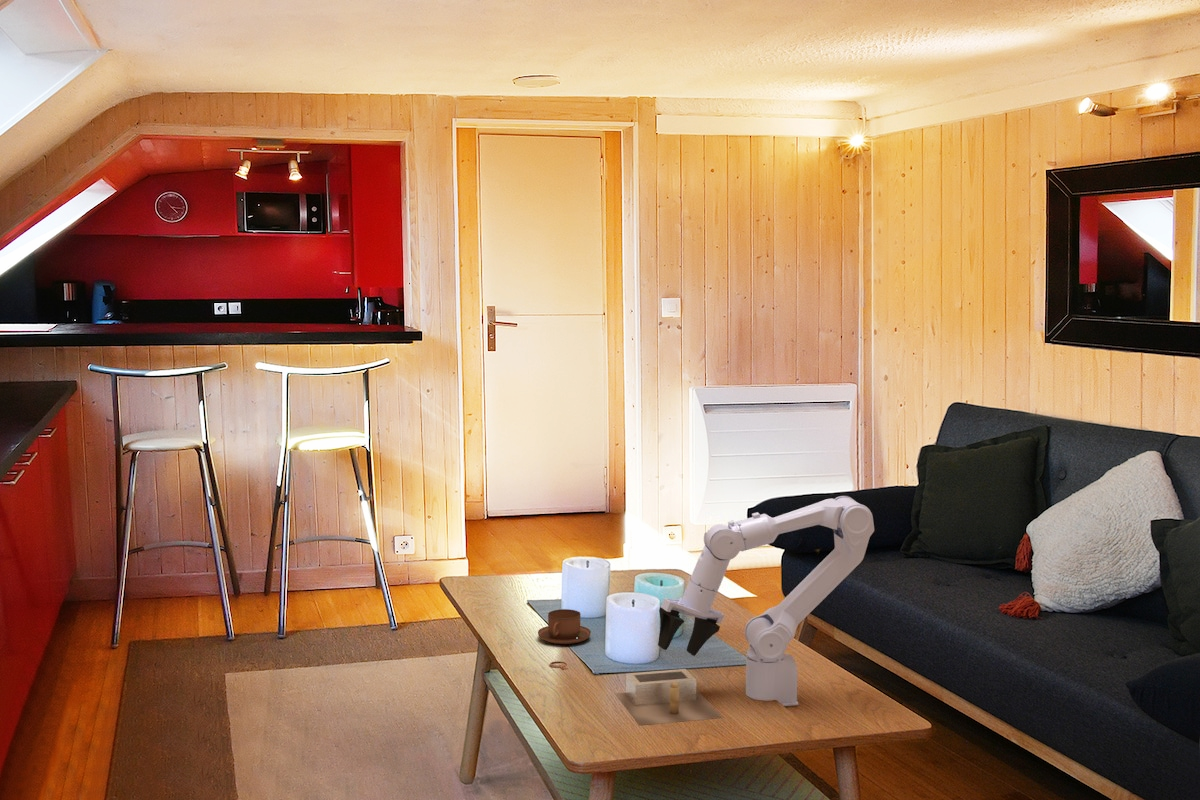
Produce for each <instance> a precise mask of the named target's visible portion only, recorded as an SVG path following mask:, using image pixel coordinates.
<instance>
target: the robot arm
mask: <svg viewBox="0 0 1200 800" xmlns="http://www.w3.org/2000/svg"><path fill="white" fill-rule="evenodd" d="M727 524H728V525H725V524H720V523H719V524H715V525H712V526H711V527H710V528H709V529H707V531H706V532H704V535H703V543H704V546H703V549H702V551H701V553H700V555H699V557H698V559H697V562H696V563H695V566H694V569H693V571H692V574H691V576H690V579H689V580H688V583H687V584H686V585H687V586H686V587H685V591H684V593H683V594H682V597H679V598H677V599H675V598H666V597H664V599H663V600H662V603H661V605H660V607H659V609H658V612H659V623H660V624H659V625H660V626H659V635H658V642H657V646H658V647H659V648H661V649H662V650H664V651H666V650H668V649H669V647H670V645H671V643H672V640H673V638H674V637H675V635H676V633H677V631H678V630H679V629H680V627H681V626H682V625H683V624H684V622H685V620H684V619H682V618H681V617H680V616H681V615H685V616H689V617H694V622H693V628H692V631H691V632H692V633H691V635H690V638H689V640H688V644H687V647H686V652H688V654H690V655H691V656H693V657H695V656H696V655H697V654H698V652H699V651H701V650H700V649H701V648H703V646H704V645H705V644H706V643H707V642H708V640H709V639H711V637H713V636H714V635H715V634H717V633H718V632H719V630H720V628H721V626H720V625H721V624H722V622H723V619H724V617H725V614H723V612H720V611H719V610H717V609H713V608H712V606H713V604H714V601H715V598H716V596H717V594H718V591H719V590H720V587H721V585H722V582H723V581H724V580H723V579H724V577H725V575H726V572H727V568H728V567H729V565H730V562H731V560H733V559H735V558H736V557H737V556H738V555H739V553H740V552H744V551H745V552H746V551H749V550H752V549H755V548H759V547H762V546H765V545H770V544H773V543H774V542H775V540H776V539H777V537H778V536H779V535H781V534H784V533H789V532H793V531H798V530H802V529H806V528H810V527H815V526H822V527H826V528H829V529H832V531H833V540H834V549H833V550H831V552H830V553H829V554H828V555H826V557H825V558H823V560H822V561H821V562H819V564H817V566H816V567H814V568H813V569H812V570H811V571H810V573H808V575H806V577H805V578H803V580H802V581H801V582H799V584H798V585H796V587H794V588H793V590H792V591H790V593H788V594H787V595H786V596H785V598H783V600H782V601H780V602H779V603H778V605H776V606H772V607H770V608H767V609H766V610H765V611H764V612H763V613H761V614H759V615H757V616H754V617H752V618H751V619H749V621H747V623H746V624H745V627H744V637H745V640H746V641H747V643H748V644H749V646H748V649H747V651H746V655H745V656H746V657H745V660H746V661H745V695H746V696H747V697H749V698H750V699H753V700H758V701H763V702H764V701H769V702H770V701H777V702H778V703H780V705H782V706H783V707H792V706H798V705H799V702H798V665H797V662H796V660H795V659H796V658H794V656H793V655H792V654H789V653H788V654H787V653H786V651H787V648H788V645H789V644H790V642H791V641H793V639H794V638H795V635H796V632H797V628H798V625H800V624H801V622H802V621H804V619H805V618H806V617H808V615H809V614H810V613H811V612H812V611H814V609H815V608H816V607H817V606H819V605H820V603H822V602H823V600H825V599H826V598H827V596H828V595H830V594H831V593H832V592H833V591H834V589H836V587H838V586H839V585H840V584H841V582H843V580H844V579H846V578H847V577H848V576H849V575H850V574H851V573H852V572H853V571H854V570H855V569H856V567H857V566H859V565H860V564H861V563H862V562H863V560H864V558H865V555H866V551H867V548H868V544H869V542H870V541H869V540H870V537H871V536H872V535H873V533H874V532H875V525H874V517H873V512H871V509H870V508H869V507H867V506H866V505H864V504H861V503H859V502H857V501H856V500H855V499H853V498H852V497H850V496H849V495H840V496H837V497H835V498H827V499H824V500H821V501H818V502H815V503H812V504H810V505H805V506H804V507H800V508H798V509H795V510H792V511H790V512H786V513H782V514H780V515H777V516H775V517H771V516H769V515H768V514H767V513H762V514H760V513H759V512H758V511H757V512H753V513H751V517H748V518H744V519H740V520H737V521H734V520H729V521H727ZM680 614H681V615H680Z"/></svg>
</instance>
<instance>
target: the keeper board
mask: <svg viewBox="0 0 1200 800" xmlns="http://www.w3.org/2000/svg"><path fill="white" fill-rule="evenodd" d="M614 694H615V696H616V697H617V698H618V700H619V701H620V702H621V703H622V705H623V706H624V708H625V709H626V711H627V712H628V713H629V714H630V715H631V716H632V718H633V719H634V721H635V722H636V723H637V725H638V726H639V727H640V726H652V725H659V724H661V725H663V724H671V723H673V724H674V723H685V722H693V721H694V722H695V721H705V720H706V721H707V720H715V719H724V717H723V715H722V714H721V713H720V712H719V711H718V710H717V709H716V708H715V707H714V706H713V705H712V704H711V703H710V702H709V700H708V699H706V697H704V696H703V695H702V694H701V692H699V690H698V689H696V700H694V701H683V702H679V685H678V683H677V682H672V683H671V685H670V703H660V704H649V705H638V706H635V705H634V703H633V702H632V701H631V700H630V698H629V697H628V696H627V694H626V692H615V693H614Z"/></svg>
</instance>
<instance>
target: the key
mask: <svg viewBox="0 0 1200 800" xmlns="http://www.w3.org/2000/svg"><path fill="white" fill-rule="evenodd" d="M567 666H568V664H567V662H565V661H552V662H550V663H549V667H551V668H555V669H556V668H557V669H560V670H563V671H569V668H568V667H567Z"/></svg>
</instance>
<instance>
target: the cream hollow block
mask: <svg viewBox="0 0 1200 800" xmlns="http://www.w3.org/2000/svg"><path fill="white" fill-rule="evenodd" d="M672 682H677V683H678V685H679V702H683V701H694V700H696V690H697V679H696V678H695V677H694V676H693V674H691V673H690V672H689V671H688V670H687V669H686V668H681V669H680V668H679V669H669V670H668V669H667V670H654V671H643V672H632V673H631V672H630V673H625V693H626V694H627V696H628V697H629V698H630V700H631V701H632V702H633V703H634V705H635V706H638V705H649V704H660V703H670V685H671V683H672Z"/></svg>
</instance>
